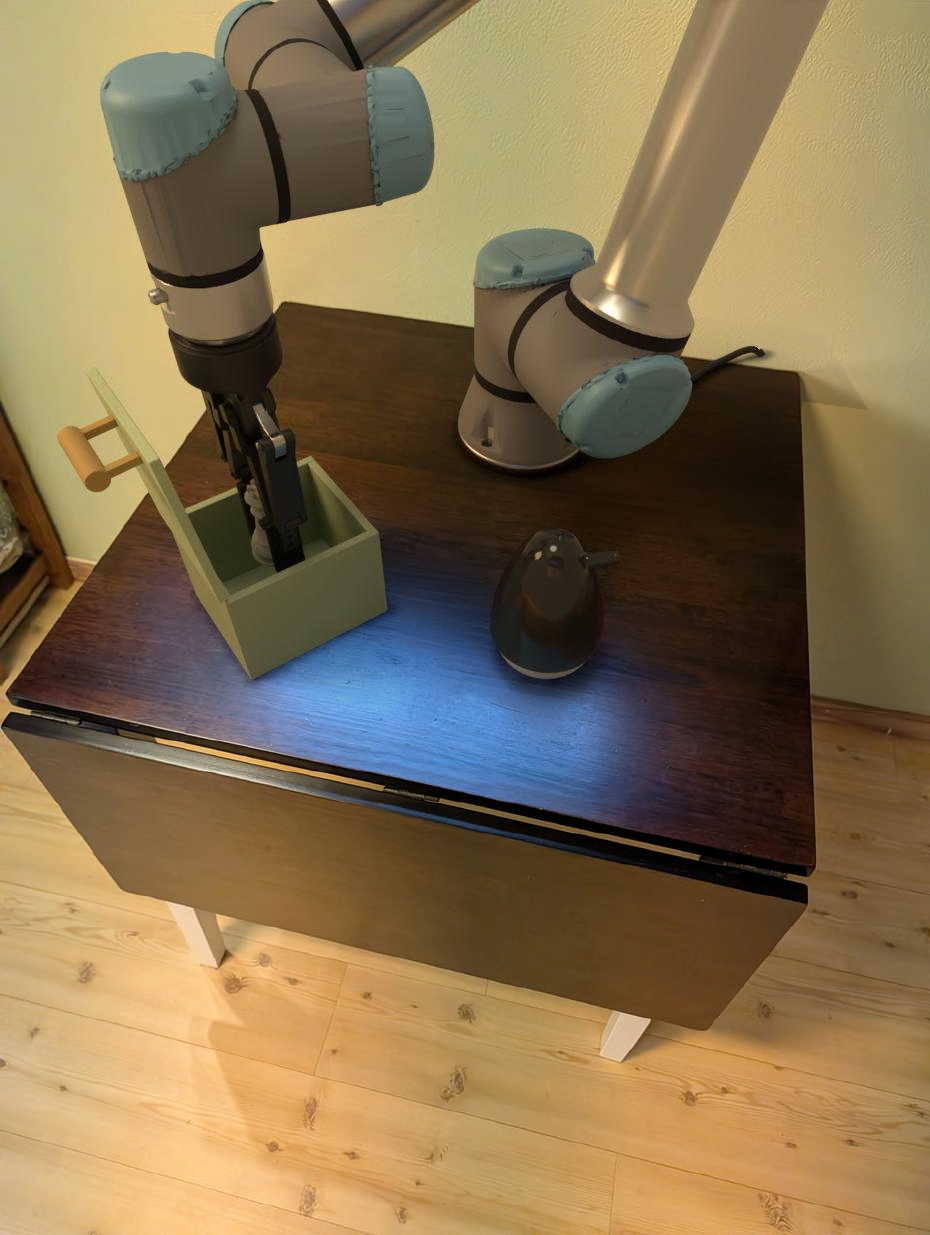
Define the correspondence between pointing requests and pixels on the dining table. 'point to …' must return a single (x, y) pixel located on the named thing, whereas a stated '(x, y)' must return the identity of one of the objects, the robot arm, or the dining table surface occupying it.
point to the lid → (148, 468)
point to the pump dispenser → (550, 604)
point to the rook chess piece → (258, 527)
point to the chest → (289, 575)
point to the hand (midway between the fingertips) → (277, 548)
